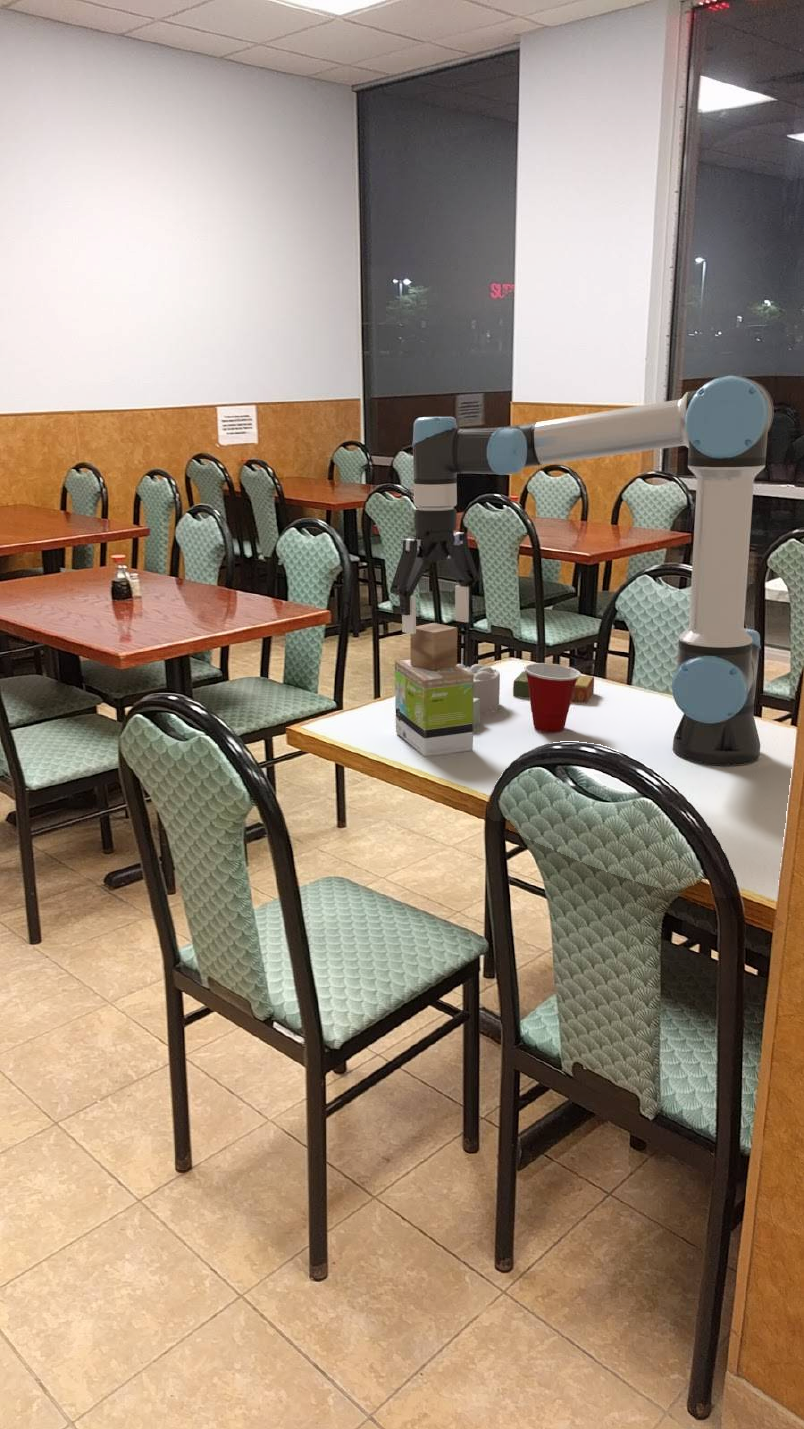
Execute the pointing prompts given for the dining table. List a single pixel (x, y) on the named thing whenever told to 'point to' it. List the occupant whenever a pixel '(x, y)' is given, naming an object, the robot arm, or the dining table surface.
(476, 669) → the lumpy-topped squat cylinder
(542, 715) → the plastic cup
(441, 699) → the tea box
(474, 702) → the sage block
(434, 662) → the brown box
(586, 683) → the carton
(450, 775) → the dining table surface
